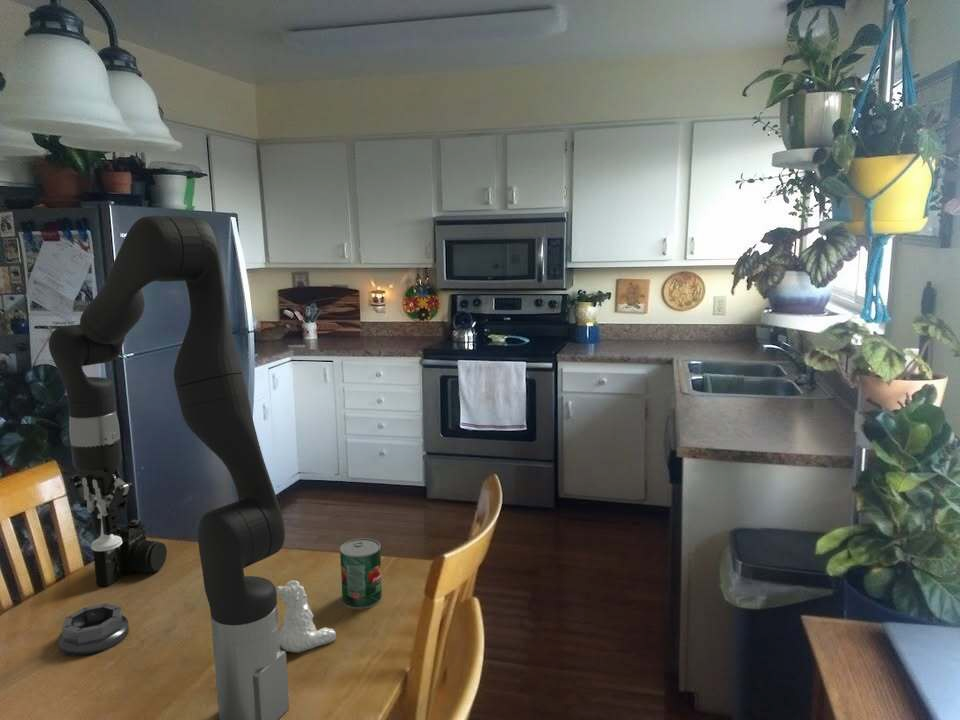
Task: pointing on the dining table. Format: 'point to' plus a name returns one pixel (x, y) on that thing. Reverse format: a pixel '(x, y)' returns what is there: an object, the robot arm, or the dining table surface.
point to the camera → (129, 555)
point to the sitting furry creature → (300, 621)
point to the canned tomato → (361, 573)
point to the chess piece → (105, 538)
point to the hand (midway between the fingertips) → (105, 531)
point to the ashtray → (93, 630)
